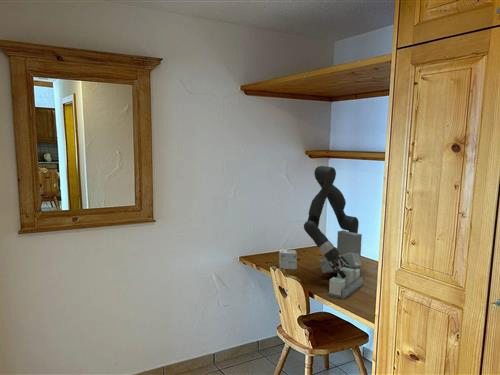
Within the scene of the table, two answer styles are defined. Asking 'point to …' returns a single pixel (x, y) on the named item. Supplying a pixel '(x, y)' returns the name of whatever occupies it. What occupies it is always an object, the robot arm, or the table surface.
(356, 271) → the mounted module
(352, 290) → the rail
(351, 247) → the tall upright rectangular panel
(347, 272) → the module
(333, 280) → the mounted module
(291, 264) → the light bulb box
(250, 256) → the table surface
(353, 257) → the hard drive box
